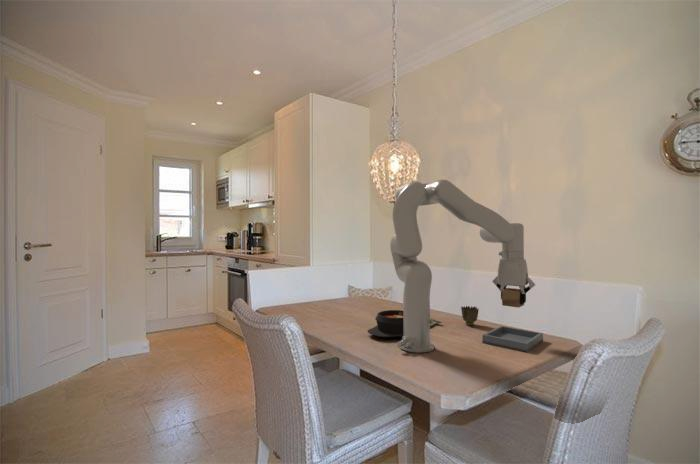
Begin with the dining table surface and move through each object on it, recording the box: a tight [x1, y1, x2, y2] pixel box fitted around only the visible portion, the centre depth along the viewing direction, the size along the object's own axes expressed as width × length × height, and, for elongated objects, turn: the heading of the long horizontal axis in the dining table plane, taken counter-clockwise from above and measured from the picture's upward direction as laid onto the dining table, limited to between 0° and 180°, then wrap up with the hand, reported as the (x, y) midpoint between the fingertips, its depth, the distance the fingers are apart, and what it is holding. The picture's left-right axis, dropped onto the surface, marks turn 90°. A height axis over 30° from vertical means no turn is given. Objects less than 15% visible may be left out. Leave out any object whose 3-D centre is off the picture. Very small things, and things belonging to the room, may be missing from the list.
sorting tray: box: [481, 325, 544, 353], centre depth 139 cm, size 18×16×3 cm
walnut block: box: [501, 287, 525, 308], centre depth 139 cm, size 6×6×6 cm
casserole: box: [367, 309, 403, 339], centre depth 150 cm, size 25×19×8 cm
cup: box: [460, 305, 479, 327], centre depth 163 cm, size 8×7×8 cm
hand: (513, 302), depth 139 cm, fingers closed on walnut block, 6 cm apart
